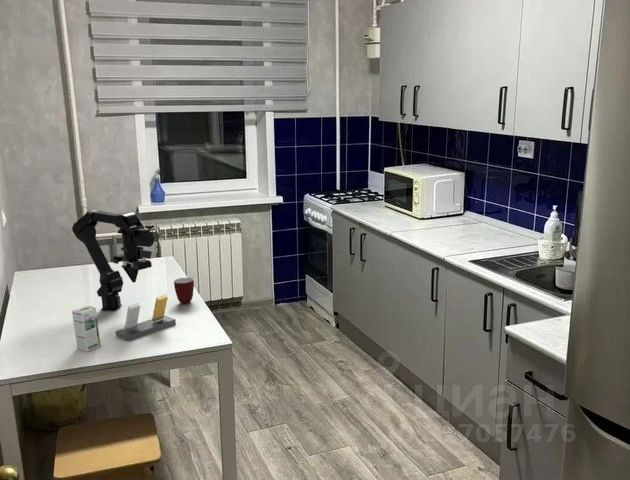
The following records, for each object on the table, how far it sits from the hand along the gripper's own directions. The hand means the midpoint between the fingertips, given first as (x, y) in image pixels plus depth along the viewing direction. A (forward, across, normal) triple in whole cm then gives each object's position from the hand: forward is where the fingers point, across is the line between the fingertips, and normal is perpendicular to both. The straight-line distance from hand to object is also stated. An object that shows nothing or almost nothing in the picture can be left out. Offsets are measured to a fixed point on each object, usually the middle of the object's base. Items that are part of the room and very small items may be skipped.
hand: (134, 282), depth 244 cm
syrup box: (+13, -17, +31) cm, 38 cm away
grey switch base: (+13, -20, +9) cm, 25 cm away
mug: (+13, -8, -19) cm, 24 cm away
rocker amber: (+10, -19, +3) cm, 22 cm away
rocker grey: (+10, -20, +15) cm, 27 cm away
